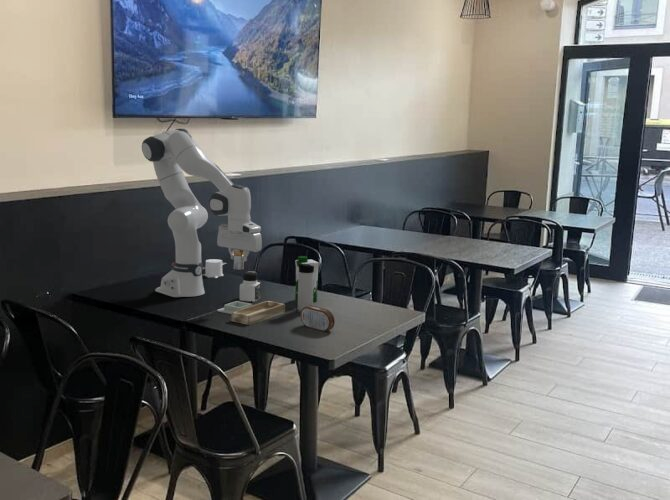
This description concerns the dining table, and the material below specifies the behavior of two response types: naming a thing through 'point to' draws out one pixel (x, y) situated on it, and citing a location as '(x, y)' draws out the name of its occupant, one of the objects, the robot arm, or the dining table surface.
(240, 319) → the trough
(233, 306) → the checker cradle
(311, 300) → the travel mug
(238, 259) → the cell
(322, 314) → the tin
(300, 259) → the milk carton
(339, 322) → the dining table surface
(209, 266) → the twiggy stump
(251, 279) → the medicine bottle
